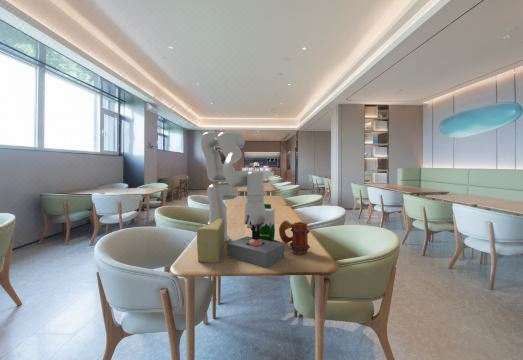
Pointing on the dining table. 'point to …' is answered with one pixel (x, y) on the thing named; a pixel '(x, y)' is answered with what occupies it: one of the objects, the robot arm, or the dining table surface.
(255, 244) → the call button
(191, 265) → the dining table surface
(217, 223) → the cheese
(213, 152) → the robot arm
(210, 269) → the dining table surface
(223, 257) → the dining table surface
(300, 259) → the dining table surface
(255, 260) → the box
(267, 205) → the milk carton
